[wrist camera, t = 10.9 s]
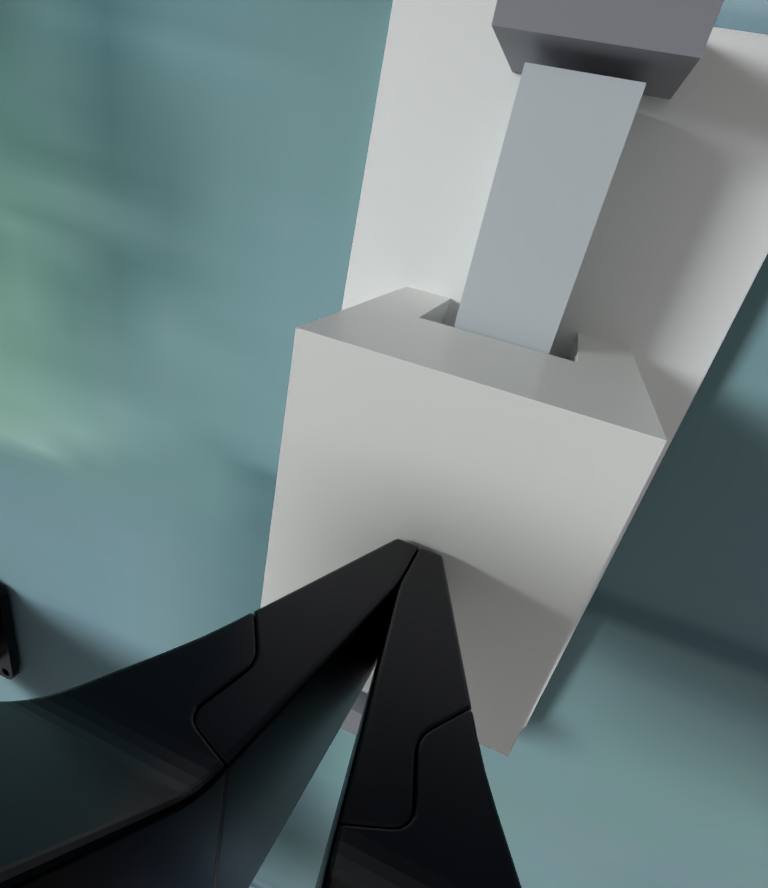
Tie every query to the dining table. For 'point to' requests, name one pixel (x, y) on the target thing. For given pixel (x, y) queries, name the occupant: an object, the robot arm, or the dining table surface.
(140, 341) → the dining table surface
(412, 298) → the grey slotted block
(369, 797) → the robot arm
